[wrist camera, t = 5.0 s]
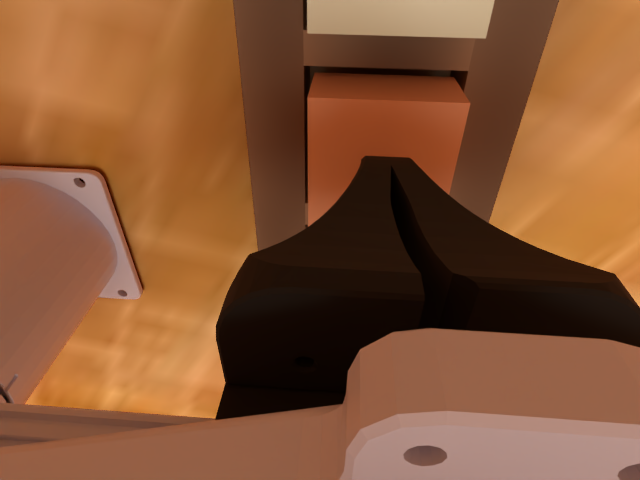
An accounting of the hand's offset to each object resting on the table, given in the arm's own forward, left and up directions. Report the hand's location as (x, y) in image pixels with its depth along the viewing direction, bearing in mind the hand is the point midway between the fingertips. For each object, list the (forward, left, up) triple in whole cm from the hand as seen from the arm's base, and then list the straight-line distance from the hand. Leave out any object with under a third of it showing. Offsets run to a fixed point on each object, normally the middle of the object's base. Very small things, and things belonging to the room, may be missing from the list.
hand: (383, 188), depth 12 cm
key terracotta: (0, 0, -3) cm, 3 cm away
